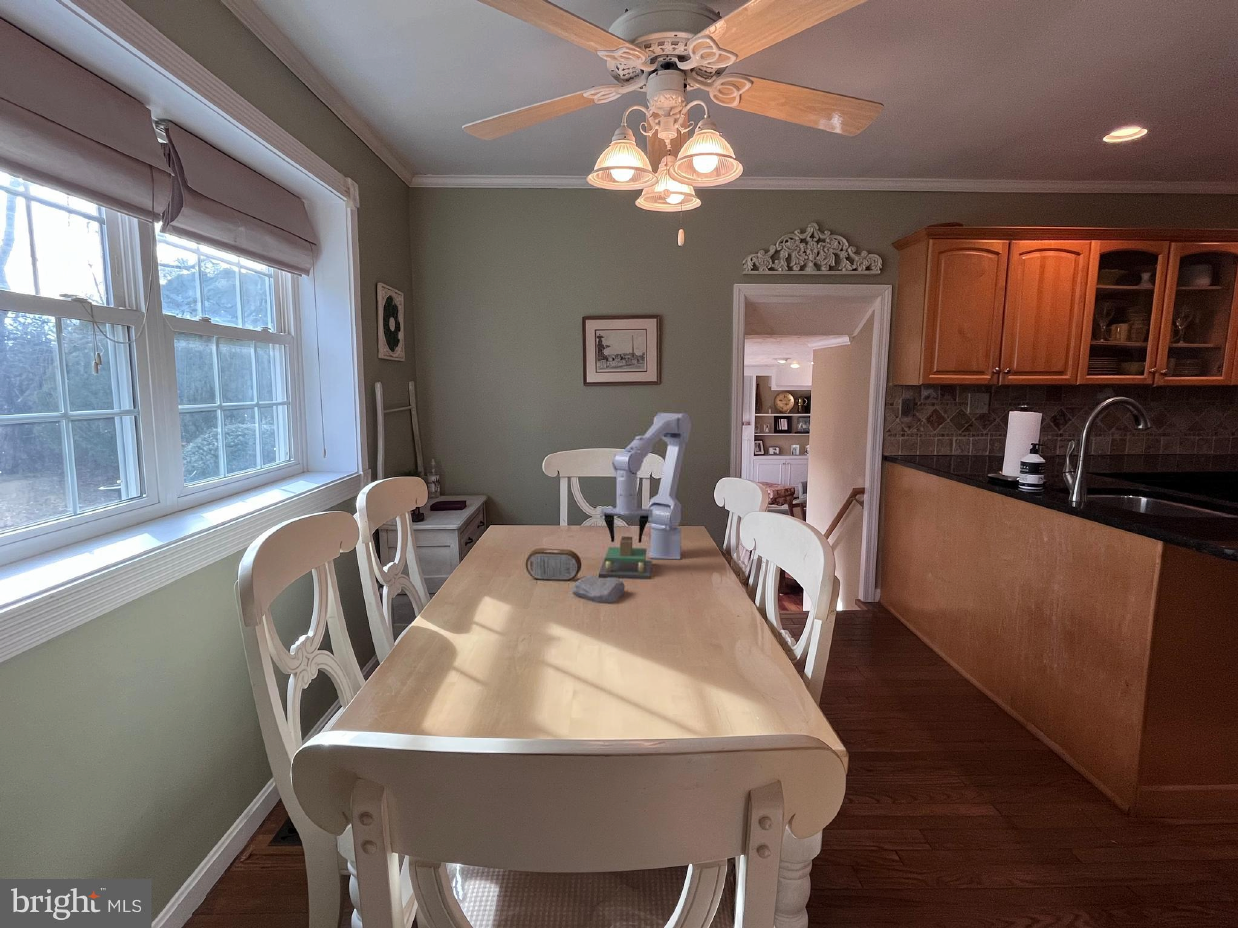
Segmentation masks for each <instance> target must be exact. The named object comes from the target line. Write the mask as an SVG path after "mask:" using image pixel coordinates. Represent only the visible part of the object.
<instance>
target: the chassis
mask: <svg viewBox="0 0 1238 928" xmlns="http://www.w3.org/2000/svg"><path fill="white" fill-rule="evenodd" d="M652 563H653V562H652V560H649V559H648V560H646V558H645V563H640V562H609V561H605V558H604V559H603V561H602V564H601V567H600V570H599V572H598V578H600V579H604V578H608V577H609V578H618V579H633V580H635V579H636V580H651V572H652V565H653V564H652Z"/></svg>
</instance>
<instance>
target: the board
mask: <svg viewBox="0 0 1238 928" xmlns="http://www.w3.org/2000/svg"><path fill="white" fill-rule="evenodd" d="M619 544H620V545H619V546H620V547H619V546H615V547H614V546H610V547H609V546H608V549H607V552H606V554H605V557H604V559H605V561H609V562H640V563H645V558H646V557H647V547H633V536H628V535H627V536H621V539H620V542H619Z"/></svg>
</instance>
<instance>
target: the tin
mask: <svg viewBox="0 0 1238 928" xmlns="http://www.w3.org/2000/svg"><path fill="white" fill-rule="evenodd" d="M525 569H526V572H527V573H528V574H529V576H530V577H532V578H533V579H535V580H538V581H556V582H557V581H558V582H570V581H572V580H574V579H575V578H576V577H577V576H578V575H579V573H580V572H581V569H582V559H581V557H580V556H579V555H578V554H577V552H576V551H574V550H571V549H566V548H564V549H563V548H543V547H539V548H534V549H533V550H531V551H530V552H529V554H528V556H527V558H526V560H525Z"/></svg>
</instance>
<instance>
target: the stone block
mask: <svg viewBox="0 0 1238 928" xmlns="http://www.w3.org/2000/svg"><path fill="white" fill-rule="evenodd" d="M625 586H626V585H625V583H624V581H623V580H622V579H621V578H609V577H608V578H601V577H596V576H595V575H592V574H589V575H587V576H586V577H581V578H580V579H578V580H577V581H576V582H575V583H574V584H573V585H572V594H573V595H574V596H576V597H578V598H582V599H584V600H586V601H591V602H594V603H598V604H600V603H601V604H612V603H614V602H617V601H618V599H619V598H620V597H622V596H623V595H624V593H625V588H626V587H625Z"/></svg>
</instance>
